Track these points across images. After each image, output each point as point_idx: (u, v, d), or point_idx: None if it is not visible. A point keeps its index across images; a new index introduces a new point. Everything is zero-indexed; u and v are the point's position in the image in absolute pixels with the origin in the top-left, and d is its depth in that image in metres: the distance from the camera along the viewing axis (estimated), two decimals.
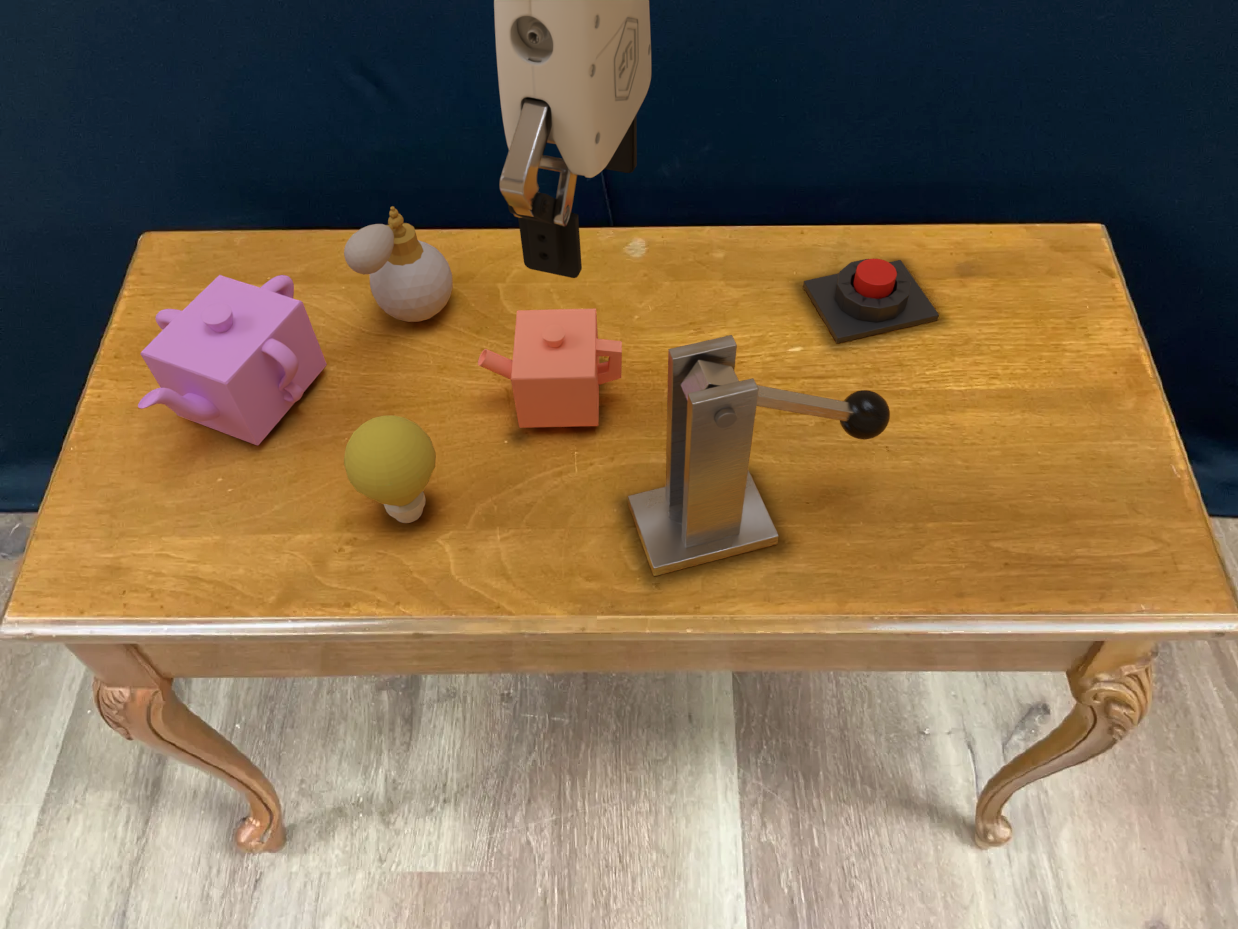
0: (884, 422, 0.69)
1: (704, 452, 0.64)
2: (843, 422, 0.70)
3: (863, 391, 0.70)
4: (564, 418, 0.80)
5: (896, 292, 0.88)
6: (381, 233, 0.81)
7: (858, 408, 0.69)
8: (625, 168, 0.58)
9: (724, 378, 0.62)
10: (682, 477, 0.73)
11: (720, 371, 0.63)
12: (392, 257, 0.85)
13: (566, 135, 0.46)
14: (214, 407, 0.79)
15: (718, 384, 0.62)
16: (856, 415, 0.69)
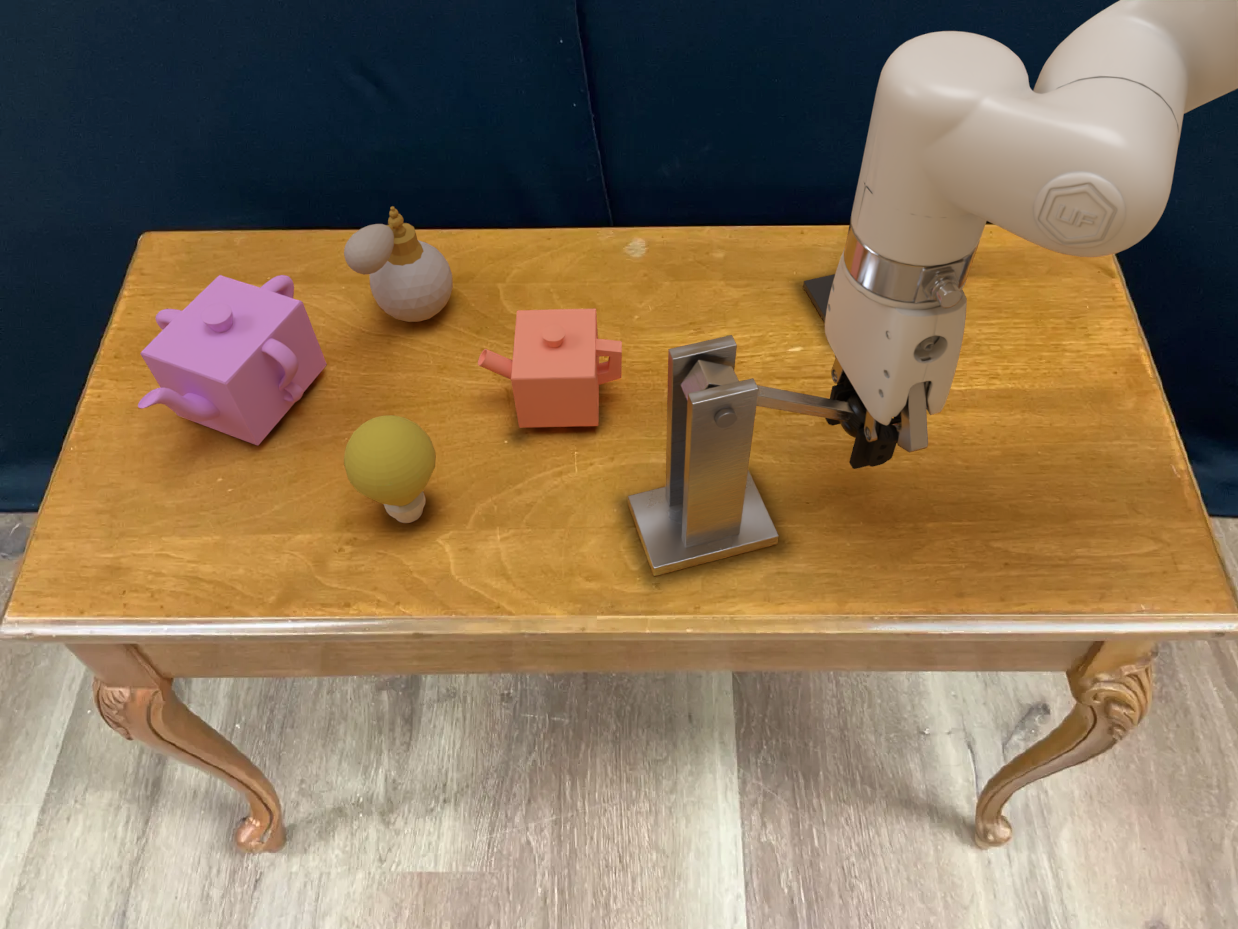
0: None
1: (704, 452, 0.64)
2: (843, 422, 0.70)
3: None
4: (564, 418, 0.80)
5: None
6: (381, 233, 0.81)
7: (858, 408, 0.69)
8: None
9: (724, 378, 0.62)
10: (682, 477, 0.73)
11: (720, 371, 0.63)
12: (392, 257, 0.85)
13: (937, 395, 0.62)
14: (214, 407, 0.79)
15: (718, 384, 0.62)
16: (856, 415, 0.69)
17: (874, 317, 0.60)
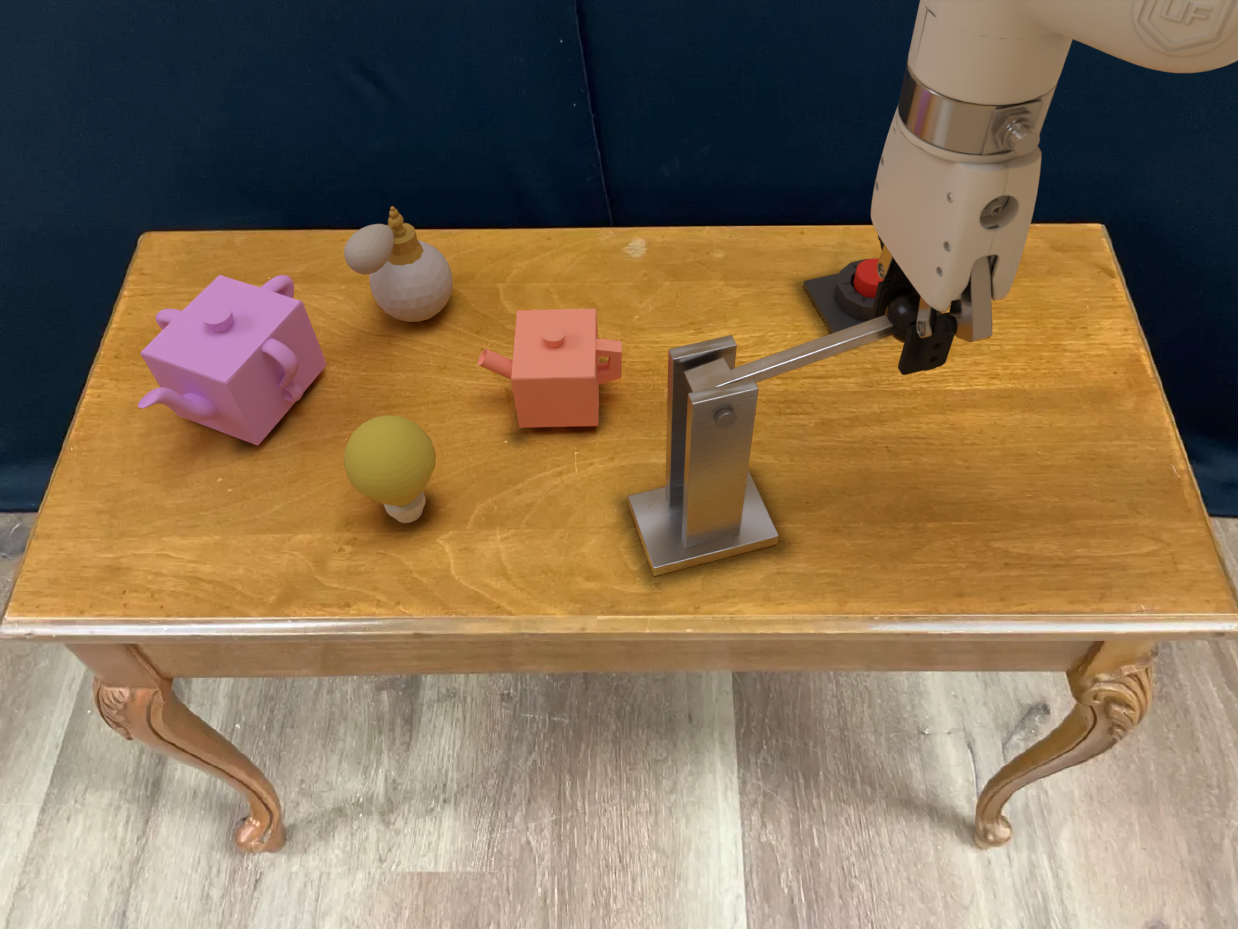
0: None
1: (704, 452, 0.64)
2: (891, 335, 0.64)
3: (897, 295, 0.63)
4: (564, 418, 0.80)
5: None
6: (381, 233, 0.81)
7: (894, 320, 0.62)
8: None
9: (712, 379, 0.62)
10: (682, 477, 0.73)
11: (708, 372, 0.62)
12: (392, 257, 0.85)
13: (1004, 273, 0.55)
14: (214, 407, 0.79)
15: None
16: (895, 327, 0.63)
17: (933, 179, 0.52)
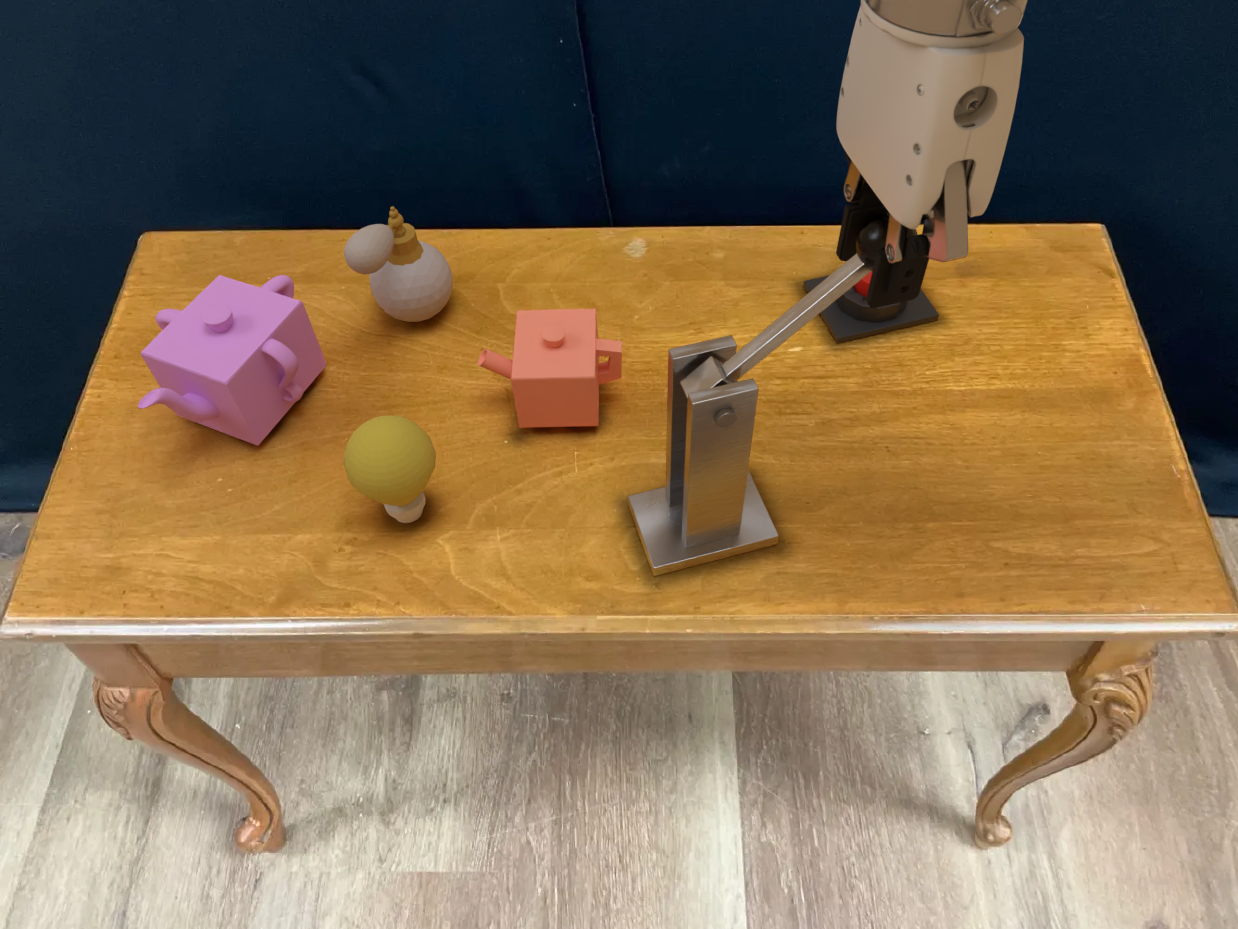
0: None
1: (704, 452, 0.64)
2: None
3: (859, 230, 0.57)
4: (564, 418, 0.80)
5: None
6: (381, 233, 0.81)
7: (862, 259, 0.57)
8: None
9: (703, 383, 0.62)
10: (682, 477, 0.73)
11: (699, 377, 0.63)
12: (392, 257, 0.85)
13: (981, 183, 0.49)
14: (214, 407, 0.79)
15: None
16: (866, 265, 0.57)
17: (902, 71, 0.46)
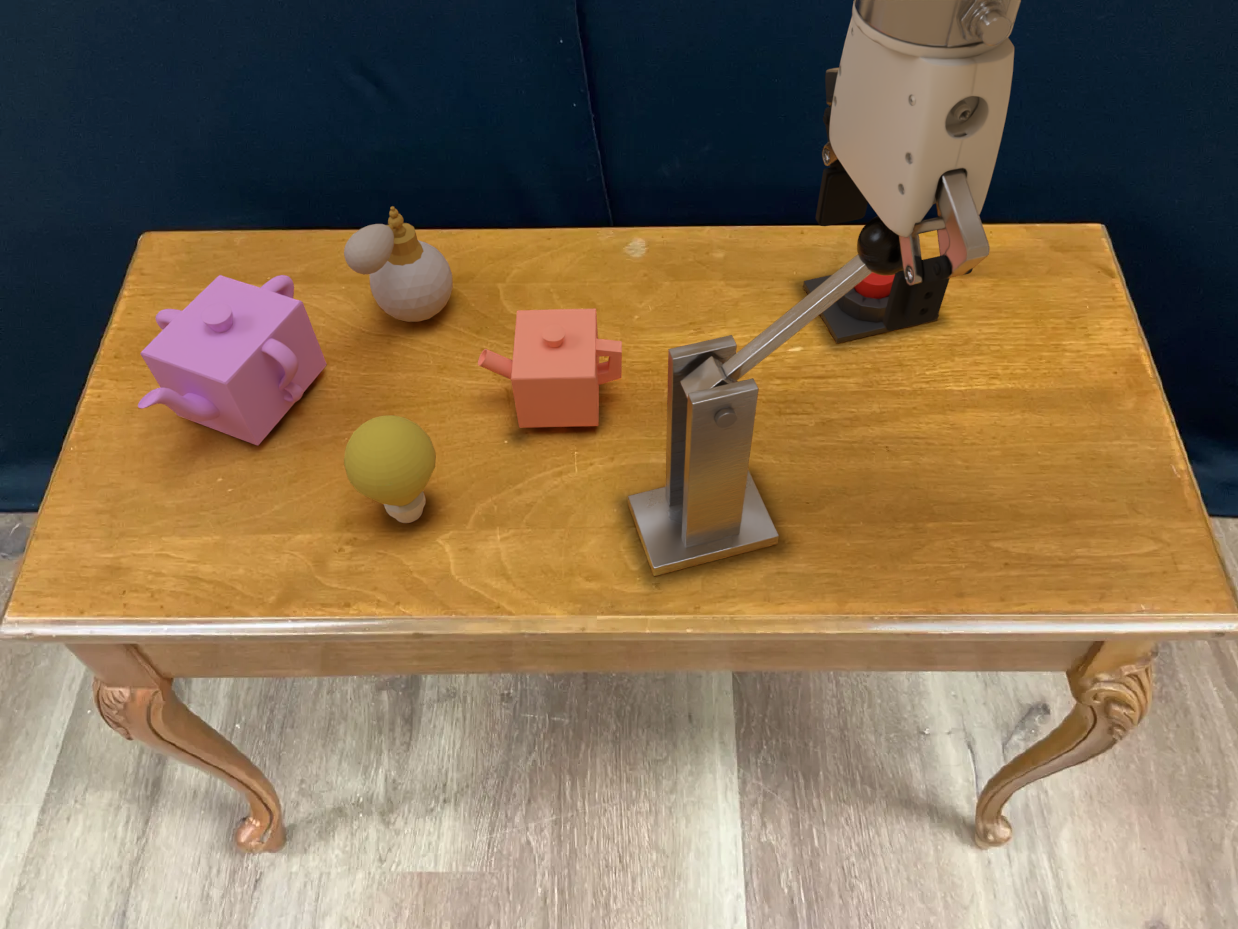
0: (897, 249, 0.56)
1: (704, 452, 0.64)
2: None
3: (861, 231, 0.57)
4: (564, 418, 0.80)
5: None
6: (381, 233, 0.81)
7: (863, 260, 0.57)
8: (859, 215, 0.61)
9: (703, 383, 0.62)
10: (682, 477, 0.73)
11: (699, 377, 0.63)
12: (392, 257, 0.85)
13: (973, 192, 0.49)
14: (214, 407, 0.79)
15: None
16: (868, 266, 0.57)
17: (893, 81, 0.46)
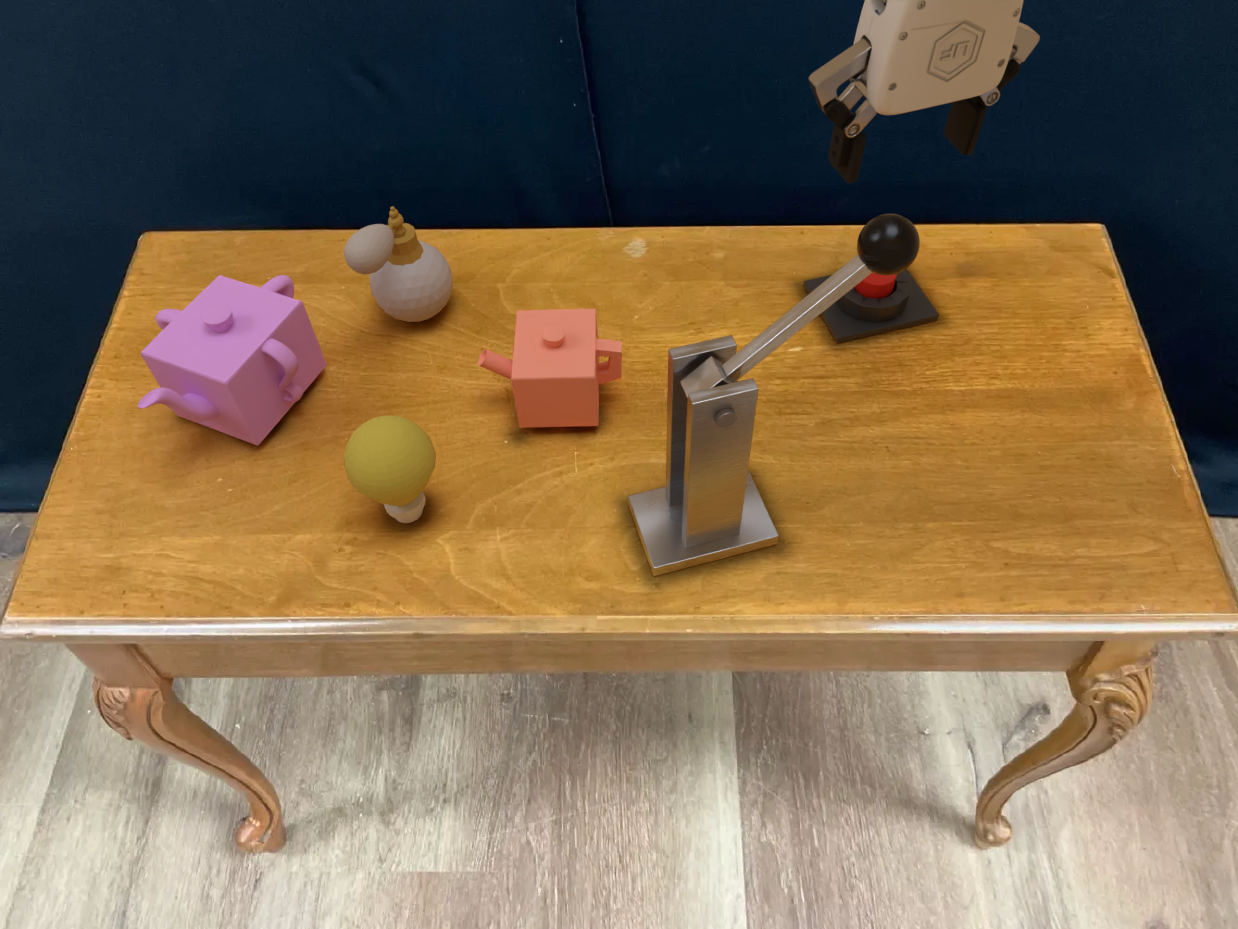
0: (897, 249, 0.56)
1: (704, 452, 0.64)
2: None
3: (861, 231, 0.57)
4: (564, 418, 0.80)
5: (896, 292, 0.88)
6: (381, 233, 0.81)
7: (863, 260, 0.57)
8: (961, 149, 0.73)
9: (703, 383, 0.62)
10: (682, 477, 0.73)
11: (699, 377, 0.63)
12: (392, 257, 0.85)
13: (872, 73, 0.64)
14: (214, 407, 0.79)
15: None
16: (868, 266, 0.57)
17: None
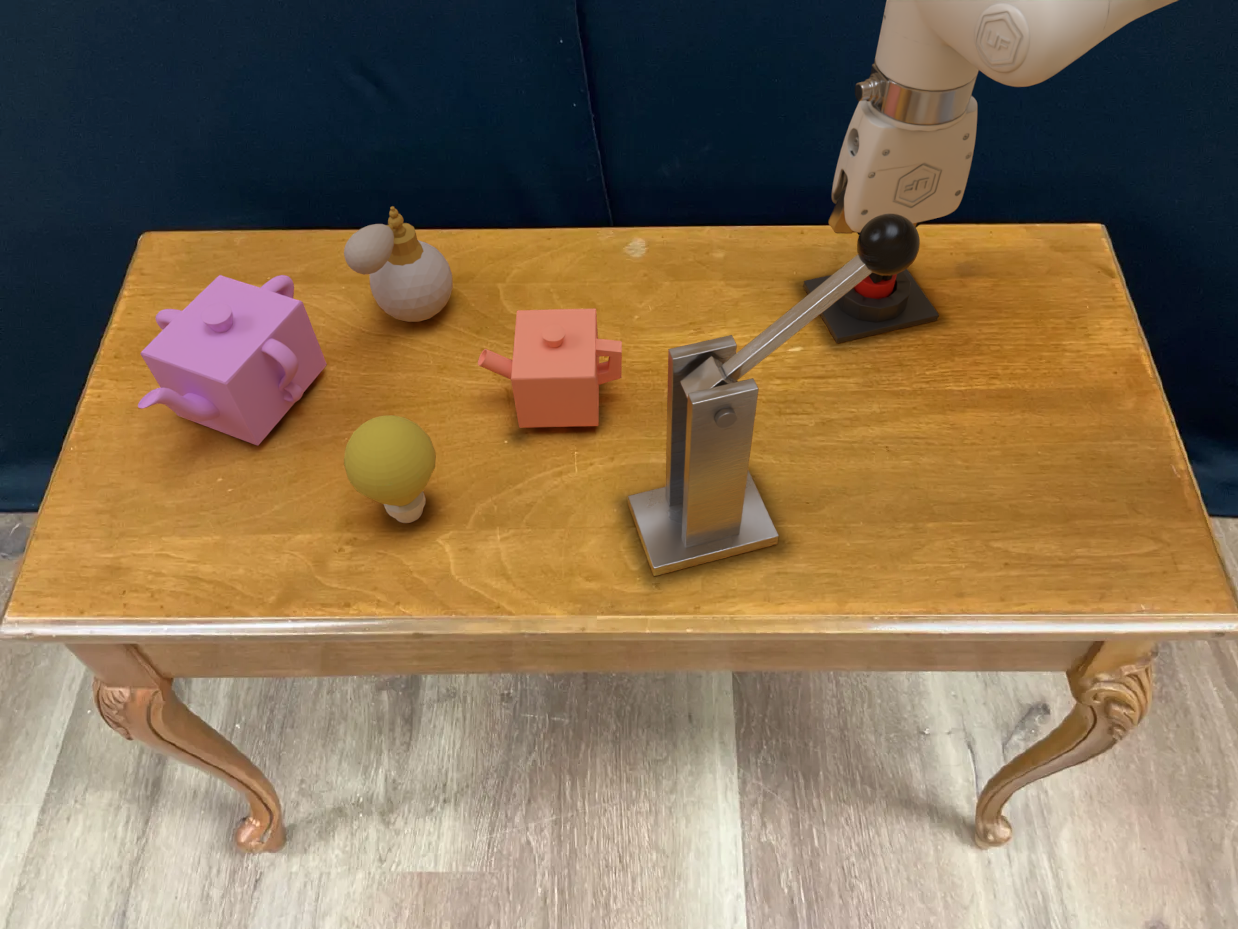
0: (897, 249, 0.56)
1: (704, 452, 0.64)
2: None
3: (861, 231, 0.57)
4: (564, 418, 0.80)
5: (896, 292, 0.88)
6: (381, 233, 0.81)
7: (863, 260, 0.57)
8: None
9: (703, 383, 0.62)
10: (682, 477, 0.73)
11: (699, 377, 0.63)
12: (392, 257, 0.85)
13: (848, 200, 0.78)
14: (214, 407, 0.79)
15: None
16: (868, 266, 0.57)
17: None
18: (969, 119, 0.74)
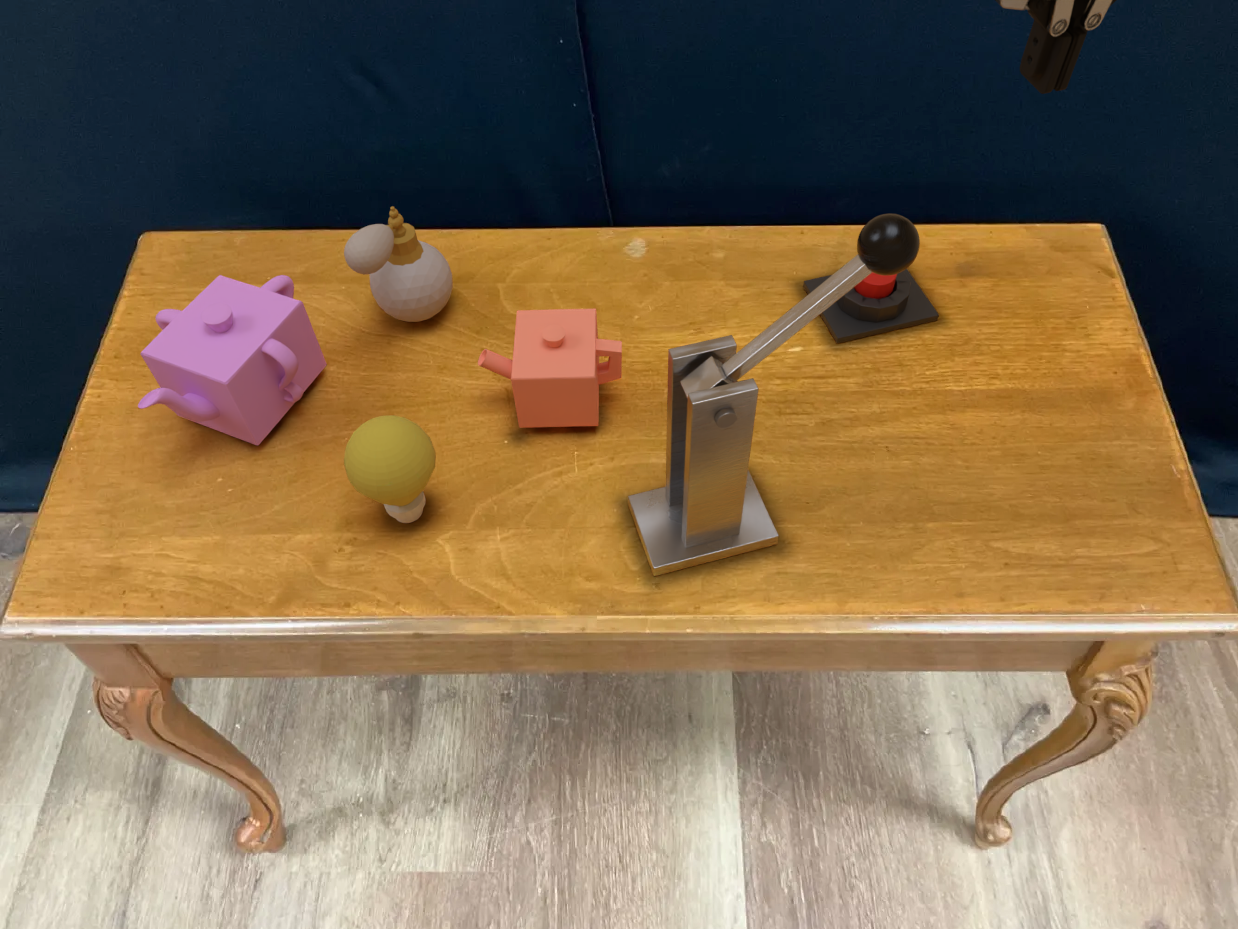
0: (897, 249, 0.56)
1: (704, 452, 0.64)
2: None
3: (861, 231, 0.57)
4: (564, 418, 0.80)
5: (896, 292, 0.88)
6: (381, 233, 0.81)
7: (863, 260, 0.57)
8: None
9: (703, 383, 0.62)
10: (682, 477, 0.73)
11: (699, 377, 0.63)
12: (392, 257, 0.85)
13: None
14: (214, 407, 0.79)
15: None
16: (868, 266, 0.57)
17: None
18: None
